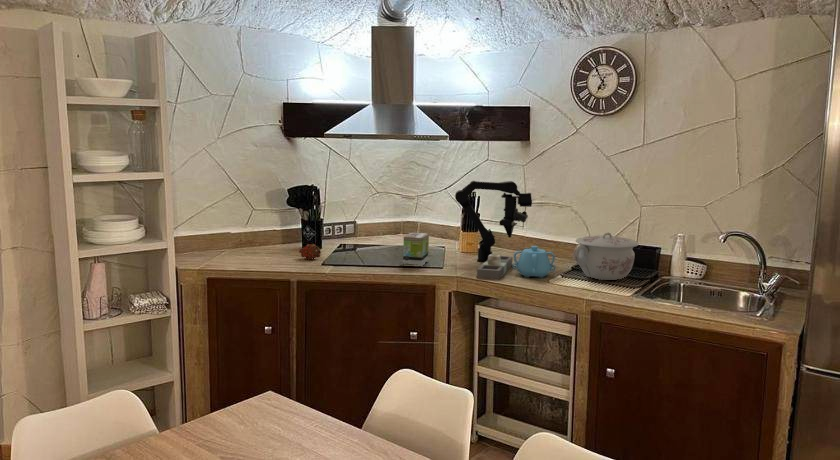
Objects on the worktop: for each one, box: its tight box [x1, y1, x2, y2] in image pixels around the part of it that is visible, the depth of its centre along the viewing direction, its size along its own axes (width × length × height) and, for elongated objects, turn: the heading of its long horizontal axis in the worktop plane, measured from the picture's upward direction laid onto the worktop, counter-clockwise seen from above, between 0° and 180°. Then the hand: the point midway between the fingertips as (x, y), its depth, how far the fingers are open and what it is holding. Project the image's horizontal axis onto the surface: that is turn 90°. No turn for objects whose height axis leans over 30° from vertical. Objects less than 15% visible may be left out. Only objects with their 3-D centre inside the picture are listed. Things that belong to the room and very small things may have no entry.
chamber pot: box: [573, 232, 639, 280], centre depth 300 cm, size 28×28×21 cm
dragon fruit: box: [298, 243, 322, 260], centre depth 336 cm, size 8×8×12 cm
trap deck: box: [476, 255, 513, 281], centre depth 313 cm, size 10×34×4 cm, turn 162°
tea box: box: [402, 232, 430, 265], centre depth 326 cm, size 15×10×15 cm
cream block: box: [488, 253, 502, 265], centre depth 309 cm, size 5×5×4 cm
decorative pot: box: [511, 245, 556, 279], centre depth 304 cm, size 16×16×14 cm
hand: (509, 237), depth 334 cm, fingers closed
